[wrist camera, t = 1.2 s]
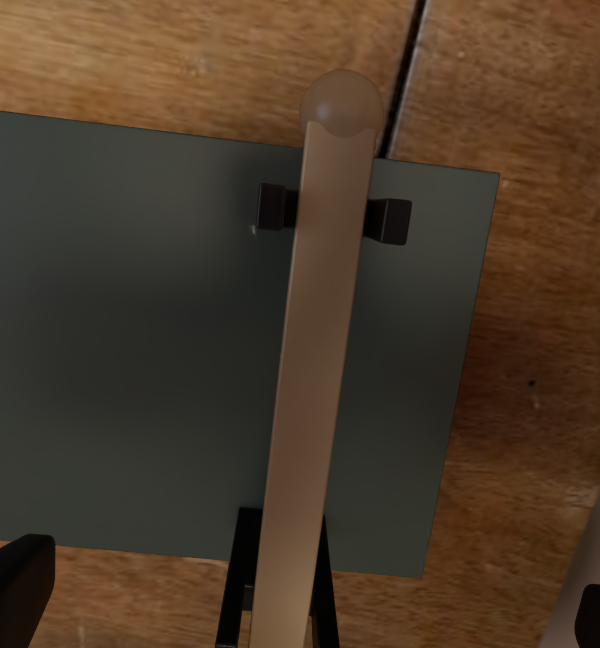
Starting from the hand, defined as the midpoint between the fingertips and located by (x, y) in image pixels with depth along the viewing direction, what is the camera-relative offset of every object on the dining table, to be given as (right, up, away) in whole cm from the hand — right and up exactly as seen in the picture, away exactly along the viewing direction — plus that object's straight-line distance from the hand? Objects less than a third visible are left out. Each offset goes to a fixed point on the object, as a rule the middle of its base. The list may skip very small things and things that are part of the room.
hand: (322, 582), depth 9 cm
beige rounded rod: (0, +1, +6) cm, 6 cm away
